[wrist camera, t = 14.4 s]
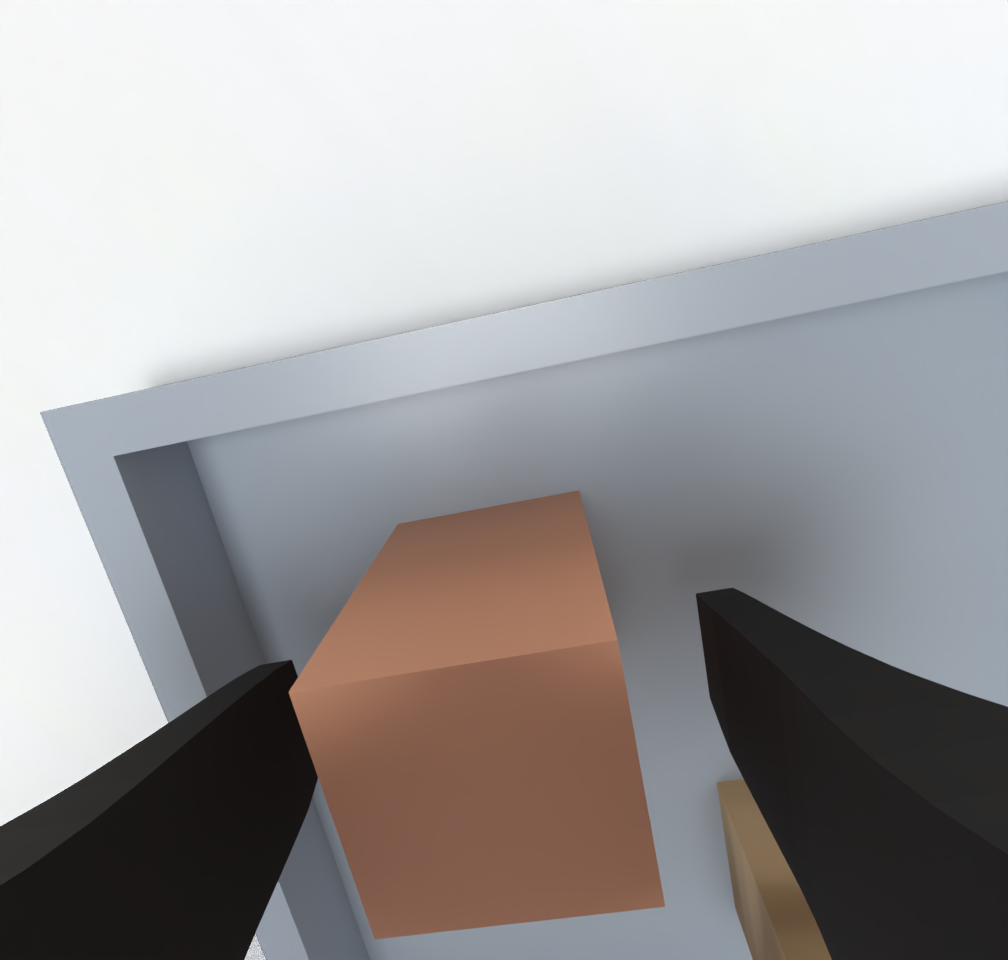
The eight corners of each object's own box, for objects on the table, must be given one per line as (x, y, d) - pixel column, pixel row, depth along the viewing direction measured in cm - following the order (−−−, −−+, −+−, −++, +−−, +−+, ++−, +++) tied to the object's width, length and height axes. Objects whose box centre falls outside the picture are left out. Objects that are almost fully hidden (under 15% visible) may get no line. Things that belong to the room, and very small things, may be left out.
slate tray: (1072, 960, 16) (1189, 1099, 13) (378, 1027, 18) (349, 1160, 15) (1114, 180, 11) (1315, 133, 8) (147, 391, 13) (40, 412, 10)
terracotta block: (609, 654, 14) (665, 907, 8) (439, 680, 14) (374, 939, 8) (578, 490, 13) (617, 639, 7) (397, 523, 13) (288, 692, 7)
